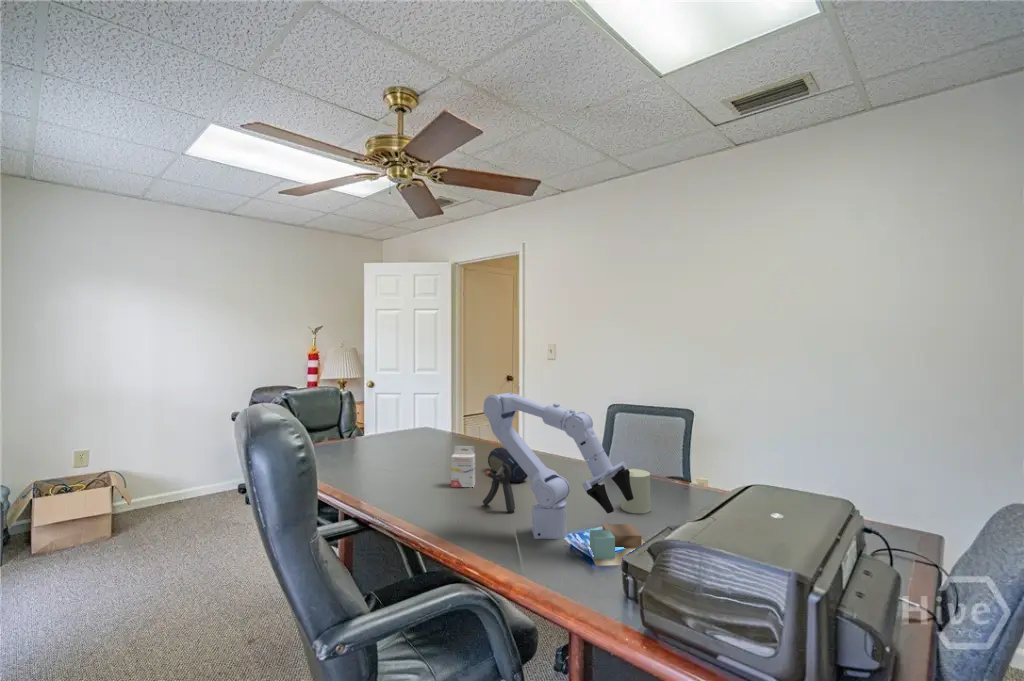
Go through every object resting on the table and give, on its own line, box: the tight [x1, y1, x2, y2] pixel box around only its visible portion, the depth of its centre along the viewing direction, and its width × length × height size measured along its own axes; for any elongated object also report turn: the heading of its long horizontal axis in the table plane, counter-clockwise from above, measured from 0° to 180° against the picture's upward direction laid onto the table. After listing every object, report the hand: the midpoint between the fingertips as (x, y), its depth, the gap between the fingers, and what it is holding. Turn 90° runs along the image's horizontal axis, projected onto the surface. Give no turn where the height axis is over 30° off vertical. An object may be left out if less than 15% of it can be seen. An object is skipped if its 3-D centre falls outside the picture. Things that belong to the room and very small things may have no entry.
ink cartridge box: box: [450, 445, 476, 488], centre depth 180 cm, size 9×5×15 cm, turn 84°
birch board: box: [591, 538, 646, 567], centre depth 122 cm, size 16×18×1 cm
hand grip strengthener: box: [482, 463, 516, 514], centre depth 155 cm, size 2×12×15 cm, turn 51°
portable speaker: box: [487, 447, 529, 483], centre depth 193 cm, size 25×10×10 cm, turn 24°
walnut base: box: [601, 523, 643, 548], centre depth 126 cm, size 8×8×3 cm
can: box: [620, 468, 652, 515], centre depth 154 cm, size 9×9×12 cm
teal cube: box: [589, 529, 615, 559], centre depth 118 cm, size 5×5×5 cm
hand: (620, 506), depth 121 cm, fingers open, 7 cm apart
